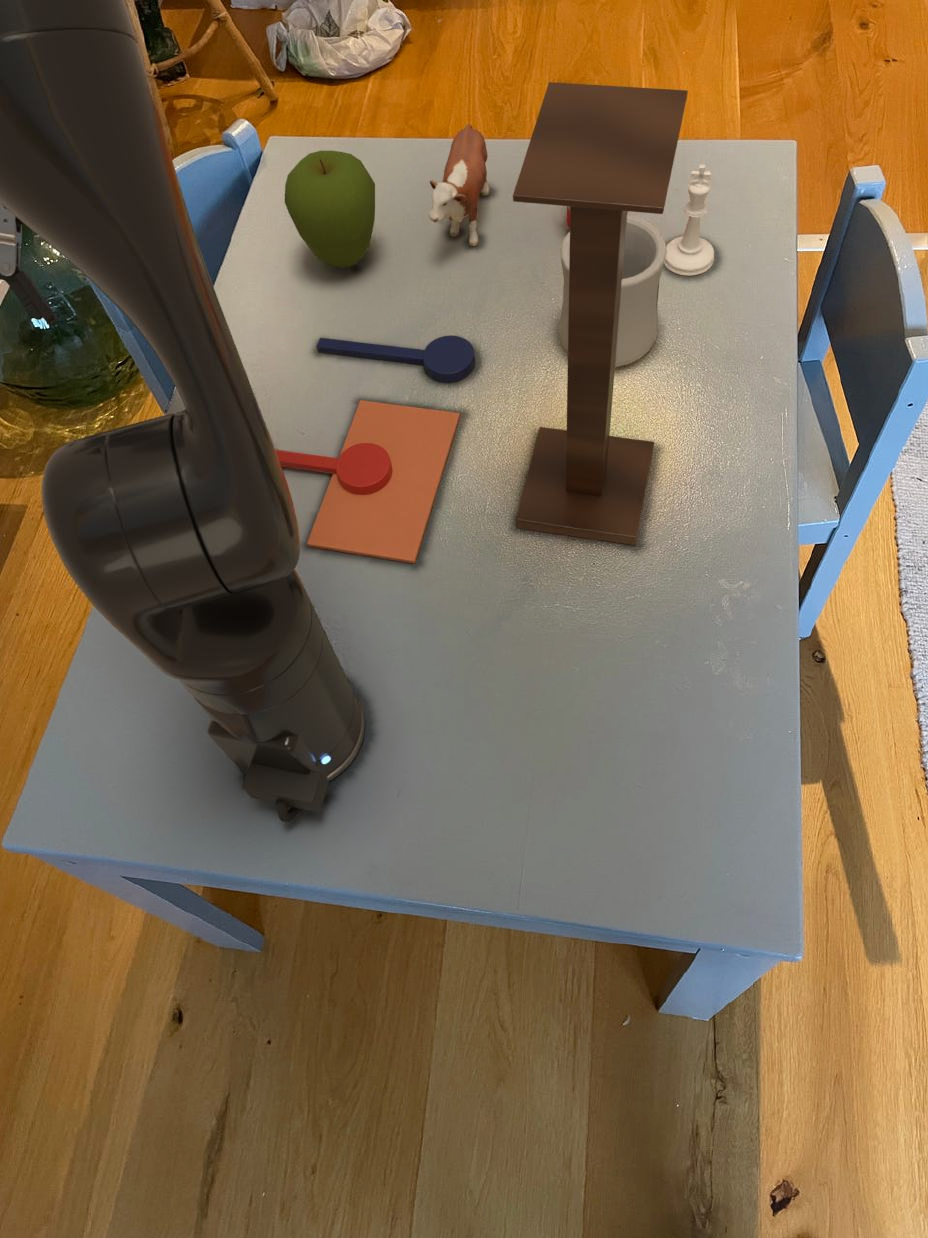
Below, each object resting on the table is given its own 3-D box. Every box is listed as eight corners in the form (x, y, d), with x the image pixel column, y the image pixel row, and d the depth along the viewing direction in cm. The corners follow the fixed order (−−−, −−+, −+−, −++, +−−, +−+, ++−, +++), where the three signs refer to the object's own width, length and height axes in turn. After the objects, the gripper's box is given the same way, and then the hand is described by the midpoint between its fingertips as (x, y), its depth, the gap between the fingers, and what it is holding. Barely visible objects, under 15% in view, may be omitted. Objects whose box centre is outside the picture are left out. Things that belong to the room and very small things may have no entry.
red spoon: (384, 498, 80) (381, 490, 79) (219, 474, 83) (215, 466, 82) (398, 454, 82) (396, 446, 81) (237, 432, 85) (233, 424, 84)
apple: (318, 300, 93) (289, 200, 83) (294, 248, 97) (263, 147, 87) (399, 272, 94) (380, 169, 84) (372, 222, 98) (351, 118, 87)
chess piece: (711, 277, 90) (728, 186, 81) (660, 273, 90) (671, 182, 82) (715, 242, 92) (732, 149, 83) (665, 239, 93) (676, 146, 84)
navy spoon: (468, 385, 86) (467, 376, 85) (312, 366, 89) (309, 357, 88) (480, 347, 88) (479, 338, 87) (327, 329, 91) (324, 320, 90)
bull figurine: (429, 266, 94) (418, 196, 87) (460, 179, 100) (453, 106, 92) (471, 271, 93) (464, 200, 86) (500, 182, 99) (496, 109, 92)
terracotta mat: (415, 563, 77) (414, 561, 77) (307, 546, 79) (306, 543, 78) (460, 415, 84) (460, 412, 84) (361, 402, 86) (360, 399, 86)
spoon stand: (635, 545, 76) (683, 209, 48) (516, 527, 78) (494, 193, 50) (653, 450, 80) (705, 90, 52) (539, 435, 82) (531, 80, 54)
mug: (674, 351, 86) (687, 263, 77) (584, 385, 85) (587, 299, 76) (614, 267, 91) (621, 177, 83) (529, 298, 90) (526, 209, 82)
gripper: (-158, 105, 58) (11, 341, 64) (43, -1, 60) (189, 240, 66) (-124, 129, 65) (26, 341, 71) (55, 34, 67) (187, 249, 73)
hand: (104, 292), depth 69 cm, fingers open, 8 cm apart
